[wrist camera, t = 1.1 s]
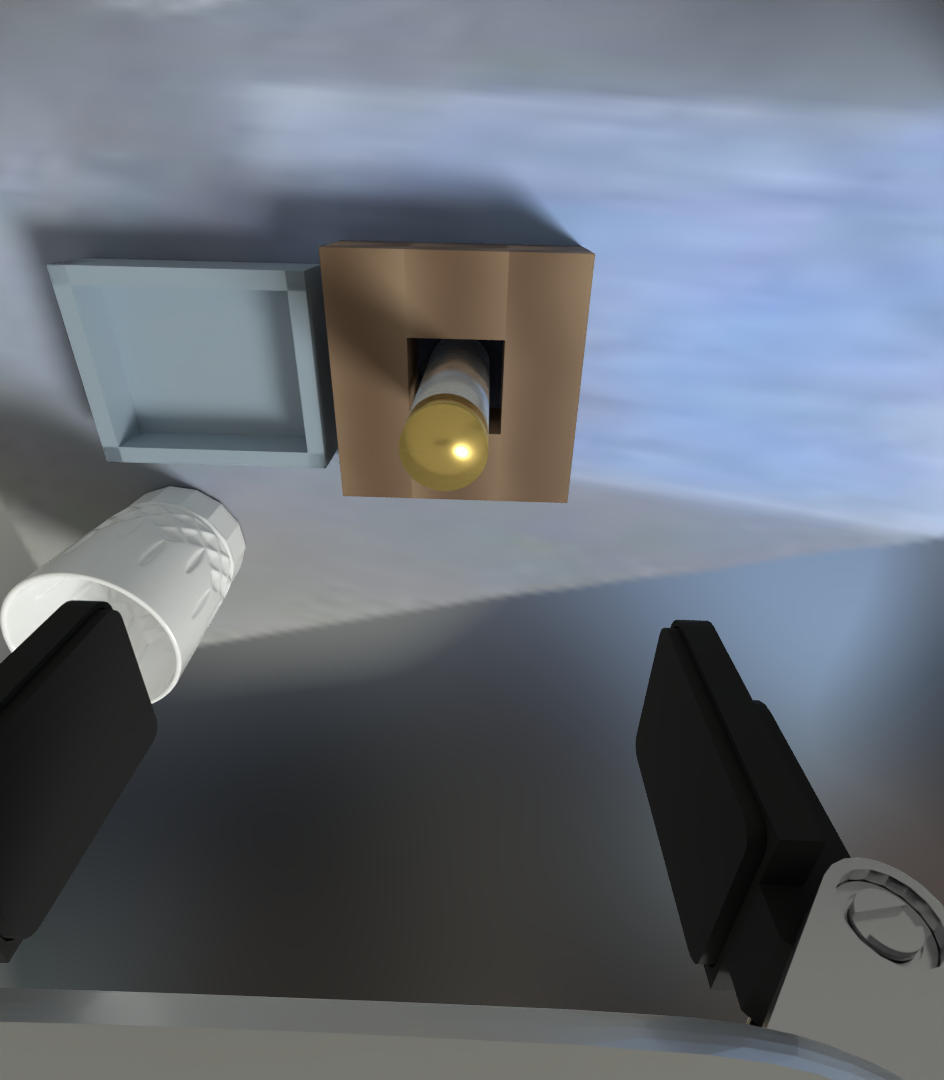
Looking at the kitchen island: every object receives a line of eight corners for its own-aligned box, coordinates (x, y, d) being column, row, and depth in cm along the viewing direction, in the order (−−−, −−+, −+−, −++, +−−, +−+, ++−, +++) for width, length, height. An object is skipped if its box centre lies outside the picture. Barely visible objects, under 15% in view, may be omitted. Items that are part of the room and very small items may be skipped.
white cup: (131, 581, 37) (21, 698, 29) (111, 465, 33) (-23, 561, 25) (258, 598, 38) (188, 719, 29) (253, 486, 34) (170, 587, 25)
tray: (321, 264, 28) (303, 271, 25) (339, 446, 32) (325, 468, 30) (87, 258, 28) (46, 264, 25) (137, 440, 32) (107, 461, 30)
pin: (490, 335, 29) (490, 407, 19) (488, 395, 31) (486, 492, 21) (429, 333, 29) (396, 405, 19) (430, 394, 31) (400, 489, 21)
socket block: (582, 246, 27) (595, 253, 24) (559, 470, 33) (567, 502, 29) (340, 240, 27) (318, 246, 24) (358, 463, 33) (343, 495, 29)
